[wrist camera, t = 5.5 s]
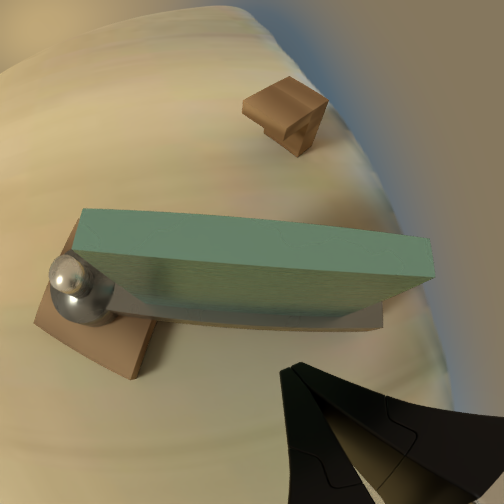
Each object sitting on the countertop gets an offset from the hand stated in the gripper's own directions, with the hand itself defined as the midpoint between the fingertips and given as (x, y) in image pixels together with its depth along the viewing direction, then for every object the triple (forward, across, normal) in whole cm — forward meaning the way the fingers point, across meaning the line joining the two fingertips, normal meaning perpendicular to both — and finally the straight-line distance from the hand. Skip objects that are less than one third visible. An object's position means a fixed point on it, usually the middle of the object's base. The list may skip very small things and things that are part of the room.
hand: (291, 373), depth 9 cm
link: (+7, -2, -1) cm, 8 cm away
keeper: (+16, +7, +5) cm, 18 cm away
